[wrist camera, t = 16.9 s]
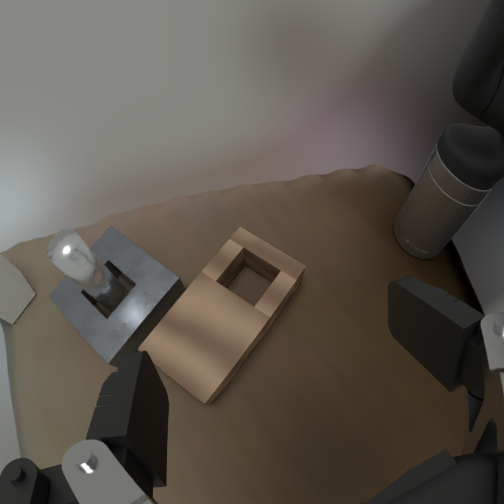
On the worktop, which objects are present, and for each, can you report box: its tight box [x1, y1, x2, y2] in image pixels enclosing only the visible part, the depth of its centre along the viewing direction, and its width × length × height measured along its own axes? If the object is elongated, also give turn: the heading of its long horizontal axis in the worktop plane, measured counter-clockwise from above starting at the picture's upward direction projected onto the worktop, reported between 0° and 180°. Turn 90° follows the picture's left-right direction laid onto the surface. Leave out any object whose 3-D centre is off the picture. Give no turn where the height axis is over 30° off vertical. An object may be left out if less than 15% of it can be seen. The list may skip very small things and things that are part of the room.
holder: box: [49, 226, 186, 368], centre depth 40 cm, size 14×14×4 cm
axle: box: [47, 229, 129, 313], centre depth 34 cm, size 4×4×16 cm
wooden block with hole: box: [138, 227, 306, 405], centre depth 38 cm, size 20×10×5 cm, turn 145°
